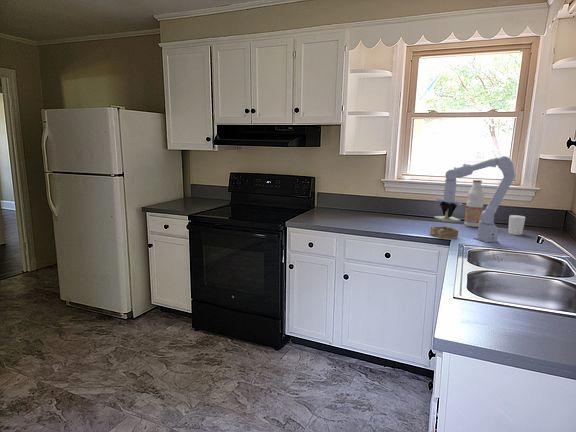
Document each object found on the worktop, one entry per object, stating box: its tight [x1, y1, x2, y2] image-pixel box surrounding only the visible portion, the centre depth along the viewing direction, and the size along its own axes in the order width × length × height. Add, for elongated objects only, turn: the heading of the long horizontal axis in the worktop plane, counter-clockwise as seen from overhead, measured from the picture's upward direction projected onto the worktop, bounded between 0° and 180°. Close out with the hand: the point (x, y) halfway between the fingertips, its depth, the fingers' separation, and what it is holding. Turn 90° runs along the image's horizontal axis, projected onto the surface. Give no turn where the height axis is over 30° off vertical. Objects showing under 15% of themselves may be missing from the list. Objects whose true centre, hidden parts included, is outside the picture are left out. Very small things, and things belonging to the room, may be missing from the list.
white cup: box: [508, 214, 526, 236], centre depth 226 cm, size 8×8×10 cm
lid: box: [433, 210, 461, 222], centre depth 218 cm, size 10×10×4 cm
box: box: [430, 225, 459, 239], centre depth 217 cm, size 10×10×4 cm
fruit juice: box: [463, 179, 485, 228], centre depth 243 cm, size 9×9×28 cm
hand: (447, 216), depth 218 cm, fingers closed on lid, 2 cm apart
